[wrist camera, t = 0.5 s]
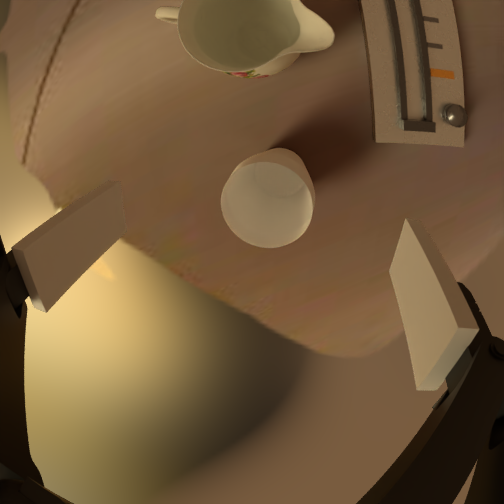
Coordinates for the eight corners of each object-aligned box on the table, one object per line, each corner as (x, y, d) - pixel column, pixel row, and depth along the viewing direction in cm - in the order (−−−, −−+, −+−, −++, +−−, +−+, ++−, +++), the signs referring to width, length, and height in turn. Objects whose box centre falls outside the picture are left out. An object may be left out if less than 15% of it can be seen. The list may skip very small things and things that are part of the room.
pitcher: (199, -11, 27) (147, -43, 16) (340, 20, 27) (352, -15, 15) (177, 62, 33) (116, 59, 22) (313, 97, 33) (313, 102, 21)
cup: (322, 146, 36) (324, 171, 26) (307, 211, 41) (302, 258, 30) (250, 132, 37) (224, 151, 27) (241, 197, 41) (215, 238, 31)
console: (337, -80, 18) (339, -93, 15) (424, -69, 16) (433, -80, 12) (372, 139, 34) (378, 145, 31) (457, 144, 31) (470, 150, 28)
